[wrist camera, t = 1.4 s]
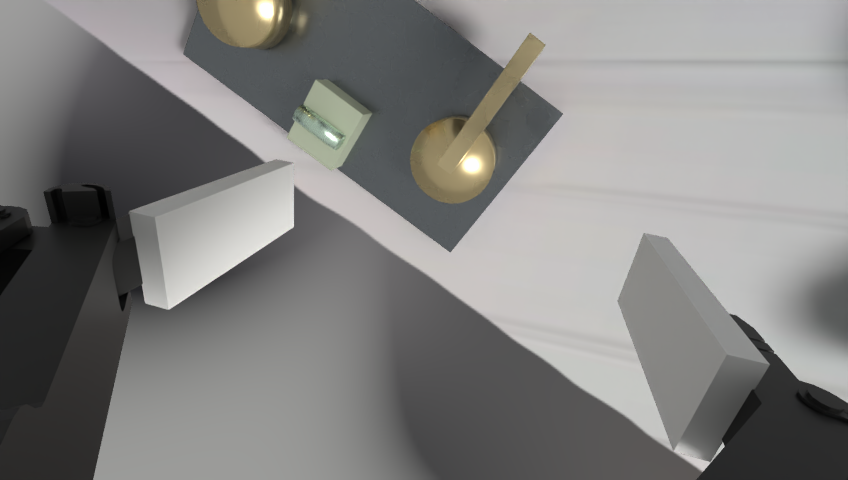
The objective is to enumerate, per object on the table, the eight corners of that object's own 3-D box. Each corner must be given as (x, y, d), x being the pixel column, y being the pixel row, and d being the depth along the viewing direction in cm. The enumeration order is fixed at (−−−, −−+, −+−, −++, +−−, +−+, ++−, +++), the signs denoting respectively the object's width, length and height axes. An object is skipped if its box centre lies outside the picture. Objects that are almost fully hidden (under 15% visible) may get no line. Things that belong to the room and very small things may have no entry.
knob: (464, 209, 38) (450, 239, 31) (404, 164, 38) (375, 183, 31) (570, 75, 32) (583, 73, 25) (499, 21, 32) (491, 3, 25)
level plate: (198, 55, 41) (148, 51, 36) (259, -118, 34) (209, -156, 29) (453, 245, 42) (442, 269, 37) (561, 112, 35) (567, 117, 30)
